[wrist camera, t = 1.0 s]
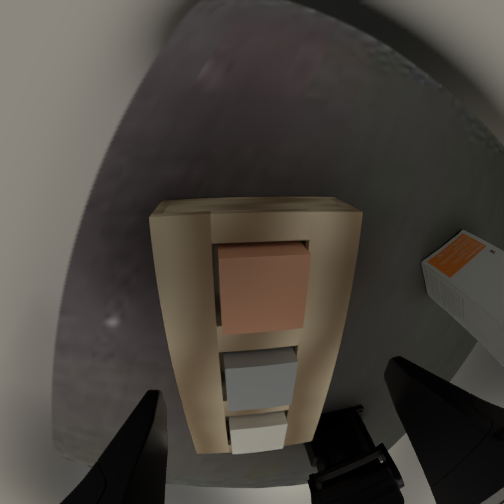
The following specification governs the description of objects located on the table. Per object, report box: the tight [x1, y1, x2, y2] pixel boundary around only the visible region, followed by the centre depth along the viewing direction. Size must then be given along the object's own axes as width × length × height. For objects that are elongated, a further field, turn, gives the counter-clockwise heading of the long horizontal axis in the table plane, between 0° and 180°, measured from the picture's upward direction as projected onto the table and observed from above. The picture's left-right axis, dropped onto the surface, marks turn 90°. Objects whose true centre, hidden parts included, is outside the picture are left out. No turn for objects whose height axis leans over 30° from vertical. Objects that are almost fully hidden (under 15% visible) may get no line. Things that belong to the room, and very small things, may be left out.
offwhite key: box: [228, 410, 288, 454], centre depth 20 cm, size 4×4×2 cm
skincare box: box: [421, 230, 504, 367], centre depth 16 cm, size 6×4×12 cm
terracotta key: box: [217, 240, 311, 335], centre depth 15 cm, size 4×4×2 cm
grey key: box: [223, 346, 298, 411], centre depth 18 cm, size 4×4×2 cm
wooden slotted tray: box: [149, 197, 363, 454], centre depth 20 cm, size 11×22×4 cm, turn 179°
